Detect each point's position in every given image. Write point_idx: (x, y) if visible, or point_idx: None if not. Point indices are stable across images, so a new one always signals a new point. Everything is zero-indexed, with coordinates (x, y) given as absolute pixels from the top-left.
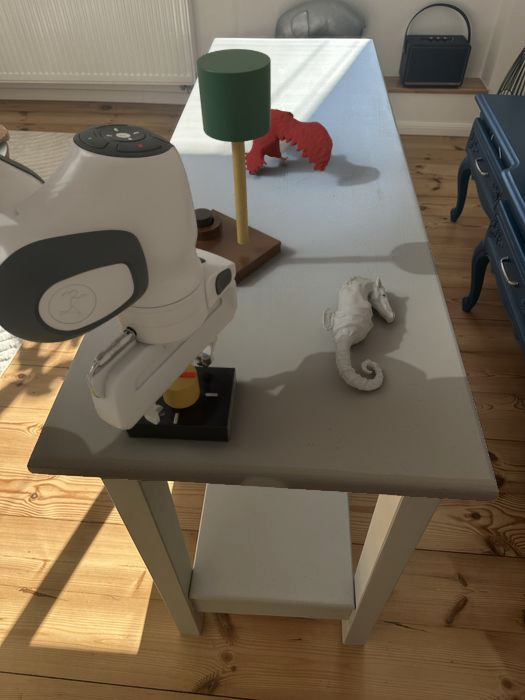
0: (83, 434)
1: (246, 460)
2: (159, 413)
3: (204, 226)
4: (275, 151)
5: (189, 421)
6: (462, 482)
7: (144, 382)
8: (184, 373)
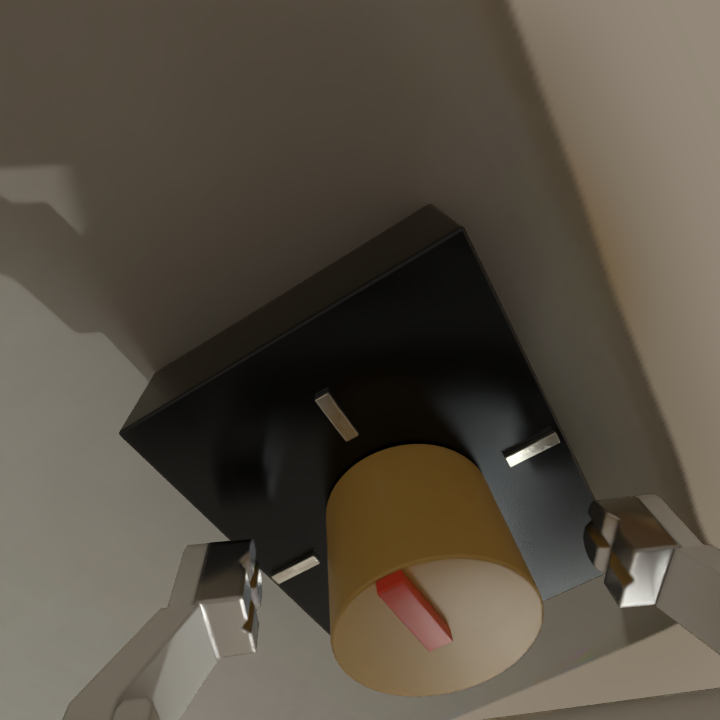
0: None
1: (473, 60)
2: (660, 536)
3: None
4: None
5: (517, 397)
6: None
7: None
8: (421, 626)
